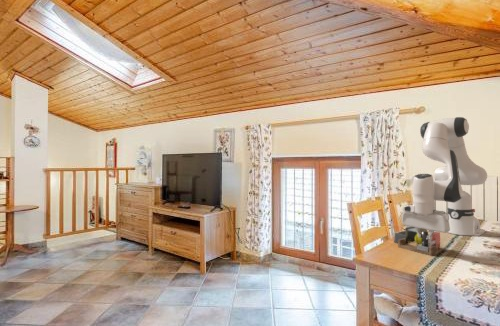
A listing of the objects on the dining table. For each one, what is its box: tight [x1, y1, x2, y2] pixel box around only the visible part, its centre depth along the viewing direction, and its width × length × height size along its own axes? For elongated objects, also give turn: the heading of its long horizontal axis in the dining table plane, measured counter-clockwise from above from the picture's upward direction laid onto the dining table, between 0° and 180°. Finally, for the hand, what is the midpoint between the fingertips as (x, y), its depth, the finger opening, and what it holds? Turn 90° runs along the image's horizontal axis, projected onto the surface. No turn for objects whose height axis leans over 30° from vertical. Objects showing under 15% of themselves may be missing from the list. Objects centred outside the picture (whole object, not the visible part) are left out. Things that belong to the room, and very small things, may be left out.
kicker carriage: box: [416, 230, 441, 252], centre depth 132 cm, size 13×5×9 cm, turn 119°
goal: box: [393, 226, 417, 244], centre depth 147 cm, size 12×7×9 cm, turn 119°
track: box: [397, 238, 438, 257], centre depth 133 cm, size 5×16×4 cm, turn 29°
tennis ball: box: [414, 233, 429, 245], centre depth 140 cm, size 7×7×7 cm
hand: (424, 238), depth 130 cm, fingers closed on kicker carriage, 3 cm apart
